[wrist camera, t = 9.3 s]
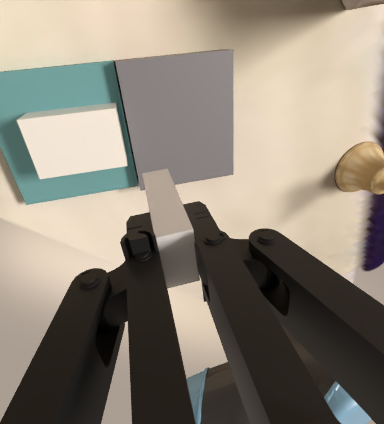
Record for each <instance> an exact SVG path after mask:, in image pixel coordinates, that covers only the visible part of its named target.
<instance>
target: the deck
mask: <svg viewBox="0 0 384 424" xmlns="http://www.w3.org/2000/svg"><path fill="white" fill-rule="evenodd" d="M115 63H116V68H117V73H118V78H119V83H120V88H121V94H122V99H123V104H124V109H125V114H126V119H127V124H128V129H129V134H130V139H131V144H132V149H133V154H134V159H135V164H136V169H137V174H138V180H139V185H140V190H145V185H144V180H143V175H142V173H147V172H152V171H158V170H163V169H168V171H169V173H170V176H171V178H172V180H173V183H174V185H176V184H182V183H187V182H193V181H199V180H205V179H210V178H216V177H222V176H228V175H233V50H226V49H223V50H214V51H204V52H194V53H184V54H174V55H164V56H154V57H144V58H134V59H124V60H115Z"/></svg>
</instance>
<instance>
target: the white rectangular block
mask: <svg viewBox="0 0 384 424" xmlns="http://www.w3.org/2000/svg"><path fill="white" fill-rule="evenodd" d="M17 122H18V125H19V128H20V130H21V133H22V135H23V138H24V140H25V143H26V145H27V148H28V150H29V153H30V156H31V158H32V161H33V163H34V166H35V168H36V171H37V173H38V176H39V178H40V179H46V178H52V177H59V176H66V175H72V174H79V173H85V172H92V171H98V170H105V169H111V168H118V167H125V166H128V165H127V155H126V150H125V145H124V140H123V135H122V131H121V126H120V121H119V116H118V111H117V106H116V102H114V103H106V104H97V105H89V106H80V107H71V108H63V109H54V110H46V111H37V112H28V113H26V114H24V115H23V116H22V117H20V118H19V119H17Z"/></svg>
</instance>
